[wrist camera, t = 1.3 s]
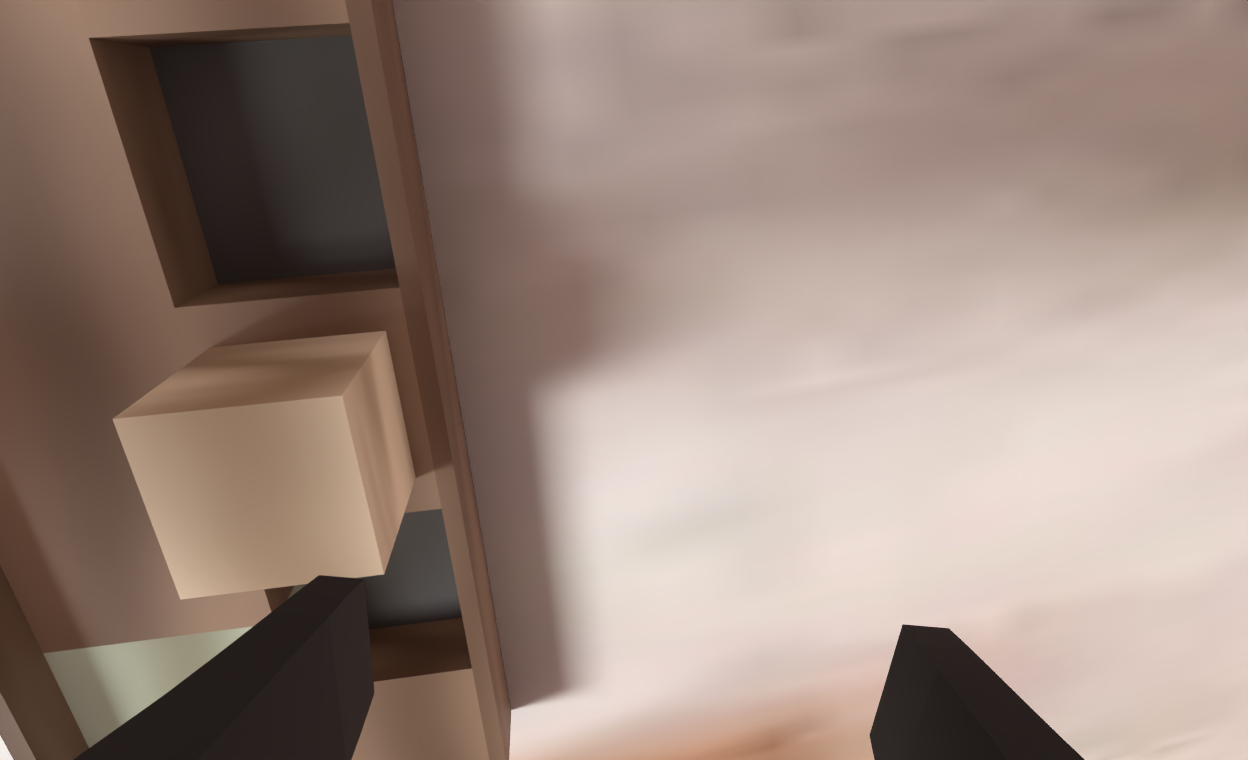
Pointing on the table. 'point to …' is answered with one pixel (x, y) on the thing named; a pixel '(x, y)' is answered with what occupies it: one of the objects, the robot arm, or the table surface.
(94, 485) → the trap box
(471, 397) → the table surface
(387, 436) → the maple block
